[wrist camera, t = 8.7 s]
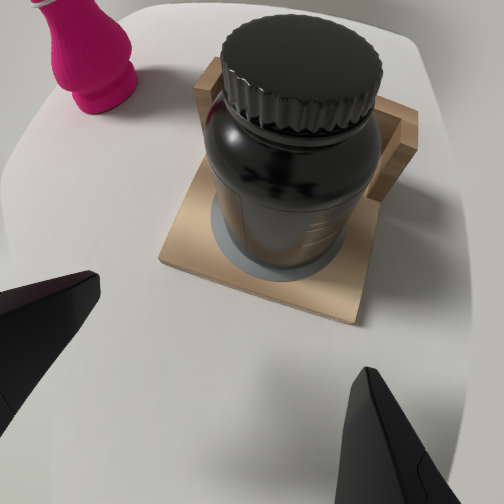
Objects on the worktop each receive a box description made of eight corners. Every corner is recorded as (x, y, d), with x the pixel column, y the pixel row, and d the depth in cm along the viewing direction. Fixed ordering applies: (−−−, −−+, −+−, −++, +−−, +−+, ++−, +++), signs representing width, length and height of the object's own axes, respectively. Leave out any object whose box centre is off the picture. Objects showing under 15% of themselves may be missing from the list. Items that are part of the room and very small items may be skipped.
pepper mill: (71, 90, 25) (-5, -60, 6) (133, 58, 26) (82, -104, 7) (79, 131, 23) (-25, -50, 4) (152, 93, 24) (89, -111, 5)
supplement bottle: (330, 169, 20) (382, 12, 8) (342, 271, 18) (454, 149, 6) (224, 170, 20) (198, 3, 9) (223, 274, 18) (169, 140, 6)
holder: (349, 324, 18) (398, 306, 11) (162, 263, 19) (118, 217, 13) (380, 174, 21) (418, 111, 14) (224, 128, 22) (214, 56, 16)
